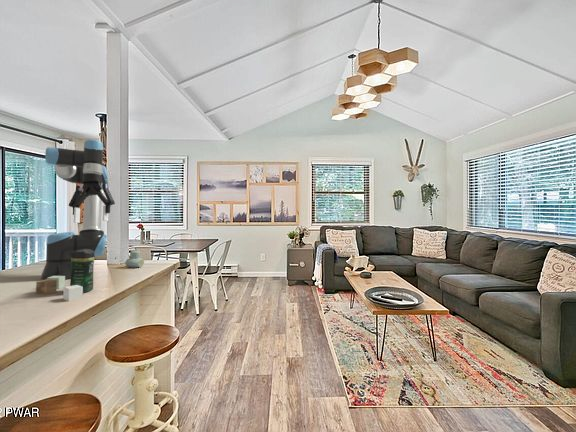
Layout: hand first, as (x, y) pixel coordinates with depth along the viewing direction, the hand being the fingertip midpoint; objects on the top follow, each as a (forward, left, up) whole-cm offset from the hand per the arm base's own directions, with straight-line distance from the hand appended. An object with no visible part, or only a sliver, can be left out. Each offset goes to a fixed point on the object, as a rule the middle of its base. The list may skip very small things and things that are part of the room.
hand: (91, 221), depth 145 cm
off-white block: (+5, -10, -31) cm, 33 cm away
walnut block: (-14, -9, -31) cm, 35 cm away
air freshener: (-34, +55, -31) cm, 72 cm away
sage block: (-19, -2, -31) cm, 36 cm away
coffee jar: (-4, 0, -31) cm, 31 cm away
